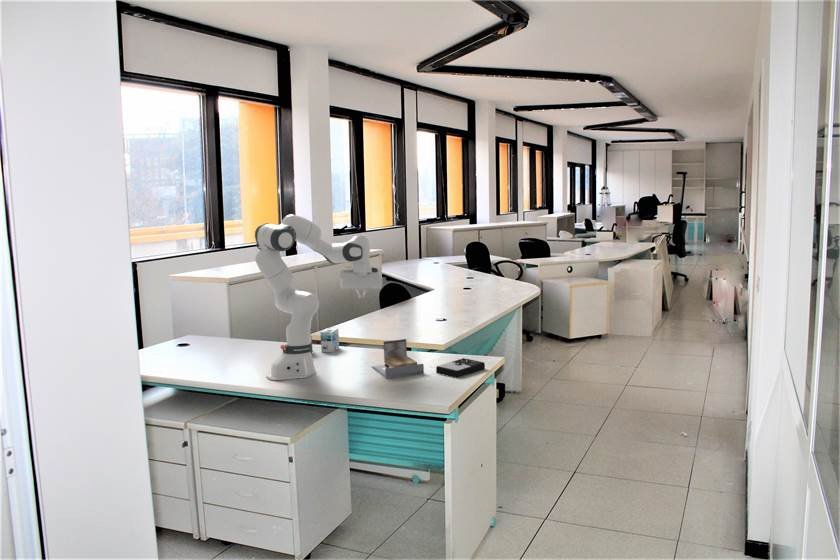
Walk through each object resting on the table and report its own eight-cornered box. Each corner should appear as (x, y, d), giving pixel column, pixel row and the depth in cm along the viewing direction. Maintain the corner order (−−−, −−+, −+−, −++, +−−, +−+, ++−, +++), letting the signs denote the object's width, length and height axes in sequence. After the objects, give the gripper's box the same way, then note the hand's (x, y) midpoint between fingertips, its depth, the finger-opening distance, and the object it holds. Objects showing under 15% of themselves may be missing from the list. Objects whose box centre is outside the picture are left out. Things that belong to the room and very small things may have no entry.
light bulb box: (333, 352, 358) (332, 332, 356) (320, 352, 359) (319, 332, 358) (339, 347, 368) (338, 328, 367) (327, 347, 370) (326, 327, 368)
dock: (386, 380, 305) (385, 368, 304) (370, 368, 327) (370, 357, 326) (423, 375, 311) (423, 364, 311) (406, 364, 333) (405, 353, 332)
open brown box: (394, 374, 307) (393, 347, 305) (384, 367, 320) (383, 341, 319) (417, 371, 311) (416, 344, 310) (406, 364, 324) (405, 338, 323)
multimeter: (485, 370, 316) (485, 359, 315) (457, 379, 302) (456, 368, 302) (464, 365, 325) (463, 355, 324) (435, 374, 312) (435, 363, 311)
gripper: (341, 269, 326) (342, 298, 326) (382, 269, 333) (383, 297, 333) (338, 269, 332) (339, 298, 332) (379, 269, 339) (379, 297, 339)
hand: (361, 298), depth 333 cm, fingers closed
